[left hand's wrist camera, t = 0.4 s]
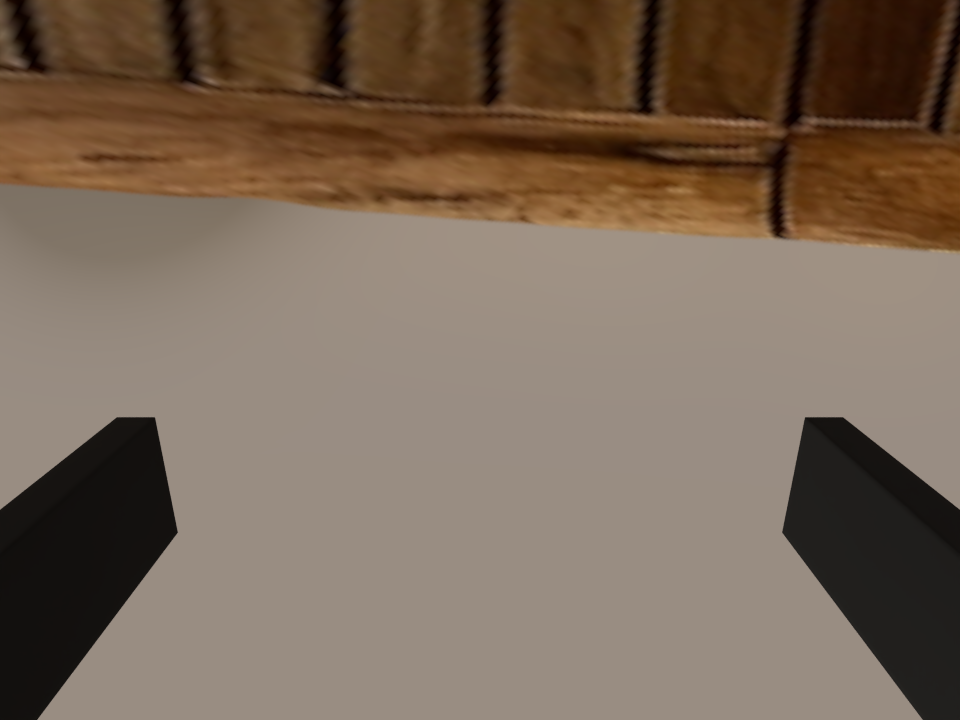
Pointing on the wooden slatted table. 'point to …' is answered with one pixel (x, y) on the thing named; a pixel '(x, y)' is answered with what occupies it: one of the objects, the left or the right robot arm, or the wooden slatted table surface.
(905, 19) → the wooden slatted table surface
